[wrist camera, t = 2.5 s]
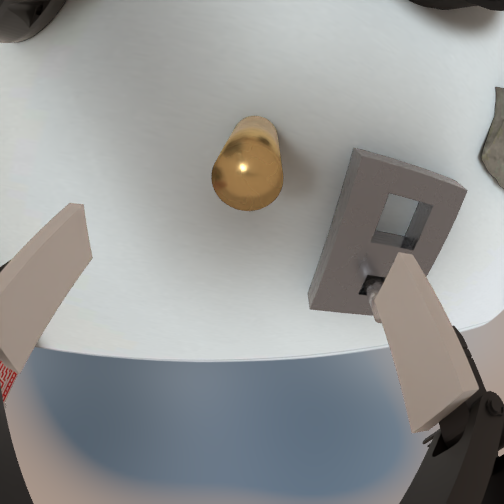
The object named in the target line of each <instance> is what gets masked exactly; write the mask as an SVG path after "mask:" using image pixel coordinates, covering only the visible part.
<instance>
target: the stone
mask: <svg viewBox="0 0 504 504" xmlns="http://www.w3.org/2000/svg"><path fill="white" fill-rule="evenodd" d="M482 161H483V163H484V164H485V166H486V169H487V170H488V172H489V173H490V174H491V175H492V176H493V177H495V178H496V180H497V181H498V183H499V185H500V187H502V188H503V189H504V88H500V87H496V104H495V116H494V119H493V122H492V125H491V128H490V131H489V134H488V137H487V140H486V143H485V146H484V149H483V153H482Z"/></svg>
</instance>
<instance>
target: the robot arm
mask: <svg viewBox="0 0 504 504" xmlns="http://www.w3.org/2000/svg"><path fill="white" fill-rule="evenodd" d="M65 1H66V0H0V42H1V43H12V42H20V41H24V40H26V39H29V38H31V37H32V36H34V35H35V34H37V33H38V32H39V31H41V30H42V29H43V28H44V27H45V26H46V25H47V24H48V23H49V22H50V21H51V20H52V19H53V18H54V17H55V15H56V14H57V13H58V11H59V10H60V9H61V7H62V6H63V4H64V3H65ZM92 258H93V257H92V252H91V247H90V242H89V236H88V231H87V225H86V218H85V211H84V205H83V204H75V203H69V204H68V205H67V206H66V207H65V208H63V209H62V210H61V211H60V212H59V213H58V214H57V215H56V216H55V217H53V218H52V219H51V220H50V221H49V222H48V223H47V224H46V225H45V226H44V227H43V228H42V229H41V230H40V231H39V232H38V233H37V234H36V235H35V236H34V237H33V238H32V239H31V240H30V241H29V242H28V243H27V244H26V245H25V246H24V247H23V248H22V249H21V250H20V251H19V252H18V253H17V254H16V255H15V256H14V258H13V259H12V260H10V261H9V262H7V263H6V264H4V265H3V266H1V267H0V360H1V361H2V363H3V364H4V365H5V366H6V367H7V368H9V369H11V370H13V371H14V372H16V373H18V374H20V373H21V371H22V369H23V367H24V366H25V364H26V362H27V360H28V358H29V356H30V354H31V352H32V351H33V349H34V347H35V345H36V344H37V342H38V340H39V338H40V337H41V335H42V333H43V332H44V330H45V328H46V327H47V325H48V323H49V322H50V320H51V318H52V317H53V315H54V314H55V312H56V311H57V309H58V307H59V306H60V304H61V303H62V301H63V300H64V298H65V297H66V295H67V294H68V292H69V291H70V289H71V288H72V286H73V285H74V283H75V282H76V280H77V279H78V278H79V276H80V275H81V273H82V272H83V271H84V269H85V268H86V266H87V265H88V264H89V262H90V261H91V260H92ZM374 301H375V304H376V307H377V310H378V313H379V316H380V319H381V322H382V325H383V328H384V331H385V334H386V337H387V340H388V344H389V347H390V350H391V353H392V357H393V360H394V364H395V367H396V371H397V374H398V378H399V382H400V385H401V389H402V393H403V397H404V401H405V405H406V409H407V414H408V418H409V422H410V427H411V432H412V433H416V432H421V431H427V430H429V429H431V428H432V427H433V426H435V425H436V424H437V423H439V425H440V429H439V430H437V431H436V432H435V433H433V434H432V435H430V436H429V437H427V438H426V439H425V440H424V441H423V444H425V443H427V442H429V441H430V440H432V439H433V440H432V442H431V443H430V444H429V445H428V447H429V449H428V451H427V453H426V455H425V457H424V459H423V461H422V463H421V466H420V468H419V470H418V472H417V473H416V475H415V477H414V479H413V481H412V483H411V485H410V487H409V488H408V490H407V492H406V493H405V495H404V497H403V499H402V500H401V502H400V504H504V454H503V455H502V456H500V457H499V456H498V451H499V450H500V449H502V448H504V404H503V402H502V400H501V399H500V397H499V396H498V395H497V394H496V393H494V392H491V391H488V392H486V389H485V387H484V385H483V382H482V379H481V377H480V375H479V372H478V370H477V367H476V365H475V362H474V360H473V358H471V353H470V351H469V350H468V349H467V344H466V342H465V340H464V338H463V336H462V335H461V334H460V332H459V331H458V330H457V329H456V328H455V326H452V325H451V323H450V321H449V319H448V317H447V315H446V313H445V311H444V309H443V307H442V305H441V303H440V301H439V299H438V297H437V296H436V294H435V292H434V290H433V288H432V287H431V285H430V283H429V281H428V279H427V278H426V276H425V274H424V273H423V271H422V269H421V267H420V266H419V264H418V262H417V261H416V259H415V258H414V256H413V255H412V254H406V253H401V252H398V254H397V256H396V258H395V261H394V263H393V265H392V267H391V269H390V271H389V273H388V275H387V277H386V279H385V281H384V283H383V285H382V287H381V289H380V291H379V292H378V294H377V296H376V298H375V300H374ZM0 504H33V501H32V499H31V497H30V494H29V492H28V489H27V487H26V484H25V481H24V479H23V476H22V473H21V470H20V467H19V464H18V461H17V458H16V454H15V451H14V447H13V444H12V440H11V436H10V432H9V428H8V423H7V419H6V414H5V409H4V403H3V397H2V391H1V384H0Z"/></svg>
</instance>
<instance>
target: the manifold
mask: <svg viewBox="0 0 504 504" xmlns="http://www.w3.org/2000/svg"><path fill="white" fill-rule="evenodd" d="M389 193H391V194H395V195H399V196H402V197H406V198H410V199H413V200H417V201H419V204H418V206H417V209H416V211H415V214H414V216H413V218H412V221H411V223H410V225H409V228H408V230H407V232H406V235H405V237H404V236H399V235H395V234H390V233H385V232H380V231H375V229H376V226H377V224H378V221H379V219H380V216H381V213H382V211H383V208H384V205H385V203H386V200H387V197H388V194H389ZM466 193H467V190H466V189H465V188H464V187H463V186H461V185H460V184H459V183H458V182H457V181H455V180H453V179H451V178H448V177H446V176H443V175H440V174H437V173H435V172H432V171H429V170H426V169H424V168H421V167H418V166H415V165H412V164H409V163H406V162H402V161H399V160H396V159H393V158H390V157H386V156H383V155H379V154H376V153H372V152H369V151H365V150H362V149H358V148H353V151H352V155H351V159H350V162H349V166H348V170H347V173H346V177H345V180H344V184H343V187H342V191H341V194H340V197H339V201H338V204H337V207H336V210H335V214H334V217H333V220H332V223H331V226H330V229H329V233H328V236H327V239H326V242H325V245H324V248H323V251H322V254H321V257H320V260H319V263H318V266H317V268H316V271H315V274H314V277H313V280H312V283H311V285H310V288H309V291H308V299H309V307H310V309H312V310H321V311H331V312H341V313H351V314H362V315H374V318H375V321H376V322H378V323H382V322H381V319H380V316H379V313H378V310H377V307H376V304H375V301H374V300H375V298H376V296H377V294H378V292H379V291H380V289H381V287H382V285H383V283H384V281H385V279H386V277H387V275H388V273H389V271H390V269H391V267H392V265H393V263H394V261H395V258H396V256H397V254H398V252H401V253H406V254H412V255H413V256H414V258H415V259H416V261H417V262H418V264H419V266H420V267H421V269H422V271H423V273H424V274H425V276H427V275H428V273H429V271H430V269H431V267H432V265H433V264H434V262H435V260H436V258H437V256H438V254H439V252H440V250H441V248H442V246H443V244H444V242H445V240H446V238H447V236H448V234H449V232H450V230H451V228H452V225H453V223H454V221H455V219H456V217H457V214H458V212H459V210H460V207H461V205H462V203H463V200H464V198H465V195H466Z"/></svg>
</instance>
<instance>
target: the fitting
mask: <svg viewBox="0 0 504 504" xmlns="http://www.w3.org/2000/svg"><path fill="white" fill-rule="evenodd" d="M212 184H213V188H214V190H215V192H216V194H217V195H218V197H219V198H220V199H221V200H222V201H223V202H224V203H226V204H227V205H229V206H230V207H233V208H235V209H238V210H244V211H253V210H258V209H261V208H264V207H266V206H268V205H269V204H270V203H272V202H273V201H274V200H275V199H276V198H277V196H278V195H279V193H280V191H281V189H282V185H283V171H282V163H281V156H280V150H279V143H278V136H277V131H276V129H275V127H274V125H273V124H272V123H271V122H270V121H269V120H267V119H266V118H263V117H260V116H250V117H246V118H244V119H242V120H241V121H240V122H239V123H238V124H237V125H236V127H235V128H234V130H233V132H232V134H231V135H230V137H229V139H228V141H227V142H226V144H225V146H224V148H223V149H222V151H221V153H220V155H219V156H218V158H217V160H216V162H215V164H214V166H213V169H212Z"/></svg>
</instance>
